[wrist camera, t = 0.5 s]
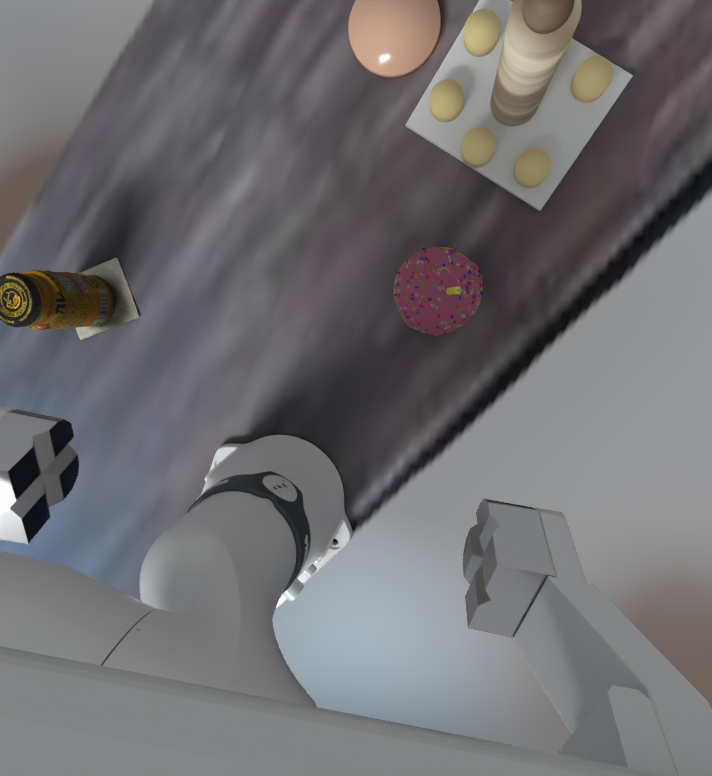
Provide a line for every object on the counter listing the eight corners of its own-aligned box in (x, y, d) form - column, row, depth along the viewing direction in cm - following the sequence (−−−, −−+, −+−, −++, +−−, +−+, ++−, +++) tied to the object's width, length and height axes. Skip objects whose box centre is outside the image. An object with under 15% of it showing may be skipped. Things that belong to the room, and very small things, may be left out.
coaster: (407, 95, 53) (406, 92, 52) (333, 48, 53) (331, 45, 52) (459, 7, 51) (459, 3, 50) (381, -41, 51) (380, -46, 50)
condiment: (58, 281, 63) (-30, 277, 51) (118, 257, 61) (40, 247, 49) (81, 339, 63) (-1, 348, 52) (140, 317, 62) (69, 321, 50)
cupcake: (480, 249, 54) (490, 235, 42) (478, 332, 55) (487, 340, 44) (397, 252, 55) (384, 239, 44) (397, 333, 57) (384, 341, 45)
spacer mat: (539, 212, 52) (543, 207, 50) (405, 127, 53) (403, 118, 51) (631, 77, 49) (641, 65, 47) (487, -11, 50) (490, -28, 47)
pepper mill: (520, 135, 51) (561, 45, 33) (480, 110, 51) (499, 7, 33) (549, 91, 50) (608, -28, 32) (508, 65, 50) (544, -67, 32)
